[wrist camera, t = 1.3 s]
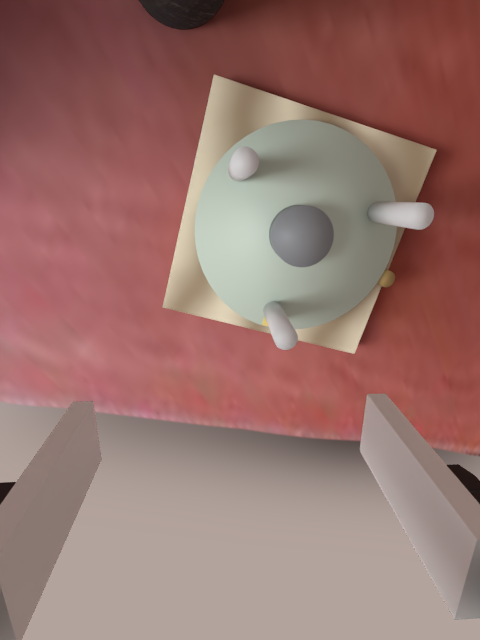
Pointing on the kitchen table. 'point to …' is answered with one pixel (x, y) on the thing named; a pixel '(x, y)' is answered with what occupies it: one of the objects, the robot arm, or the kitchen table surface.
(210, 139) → the stand base
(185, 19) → the travel mug
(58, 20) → the kitchen table surface
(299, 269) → the green peg holder
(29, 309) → the kitchen table surface
